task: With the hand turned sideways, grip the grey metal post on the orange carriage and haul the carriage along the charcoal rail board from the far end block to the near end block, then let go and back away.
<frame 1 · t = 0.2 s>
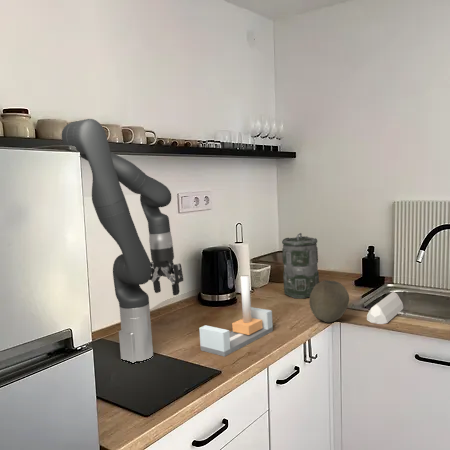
hand: (166, 293, 155), 18 cm above the worktop, tool pointing down, fingers open, 8 cm apart
crystal: (385, 316, 174), on the worktop
carriage: (246, 303, 160), point 12 cm above the worktop, slide at 5.5 cm
cantaloupe: (329, 321, 172), on the worktop
canister: (301, 294, 211), on the worktop
rail track: (238, 340, 157), on the worktop
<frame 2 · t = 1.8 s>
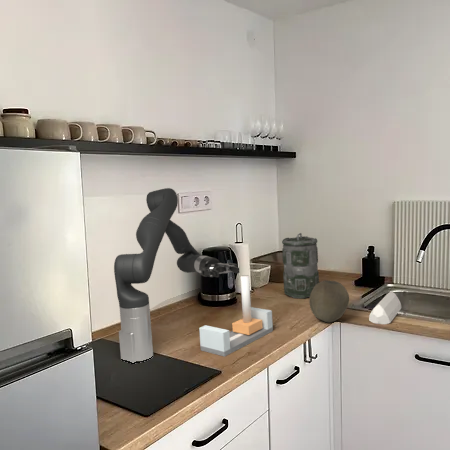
hand: (228, 272, 169), 21 cm above the worktop, tool horizontal, fingers open, 8 cm apart
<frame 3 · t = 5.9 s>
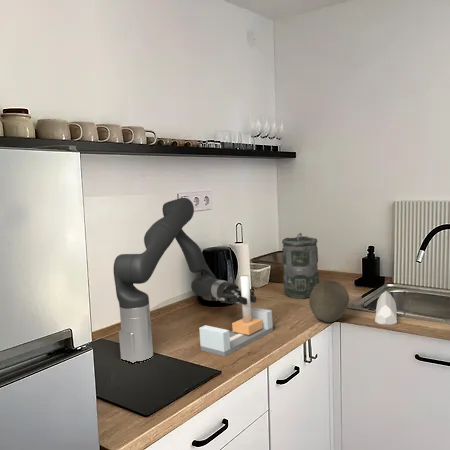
hand: (250, 300, 157), 13 cm above the worktop, tool horizontal, fingers closed on carriage, 3 cm apart
carriage: (246, 303, 160), point 12 cm above the worktop, slide at 5.5 cm, touching gripper
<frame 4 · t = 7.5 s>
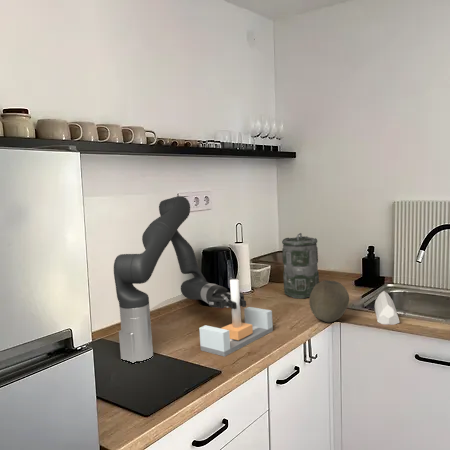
hand: (240, 304, 153), 13 cm above the worktop, tool horizontal, fingers closed on carriage, 3 cm apart
carriage: (235, 307, 155), point 12 cm above the worktop, slide at -0.4 cm, touching gripper
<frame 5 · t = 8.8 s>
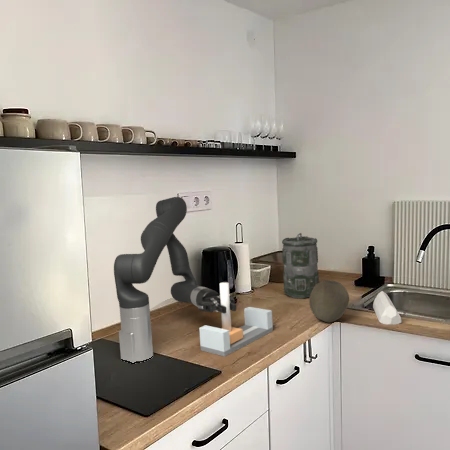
hand: (230, 309, 149), 13 cm above the worktop, tool horizontal, fingers closed on carriage, 3 cm apart
carriage: (225, 311, 151), point 12 cm above the worktop, slide at -5.7 cm, touching gripper
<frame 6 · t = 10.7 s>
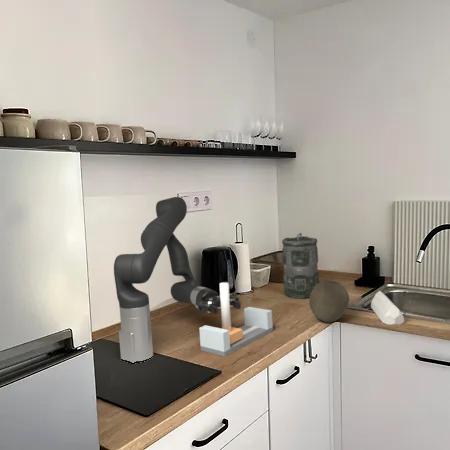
hand: (228, 308, 150), 13 cm above the worktop, tool horizontal, fingers open, 8 cm apart
carriage: (225, 311, 151), point 12 cm above the worktop, slide at -5.8 cm
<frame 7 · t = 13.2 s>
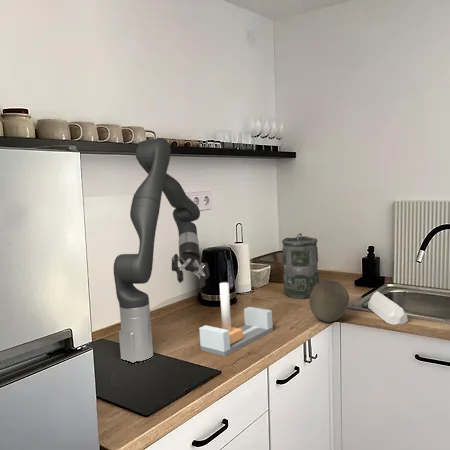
hand: (191, 284, 161), 19 cm above the worktop, tool tilted 45°, fingers open, 8 cm apart
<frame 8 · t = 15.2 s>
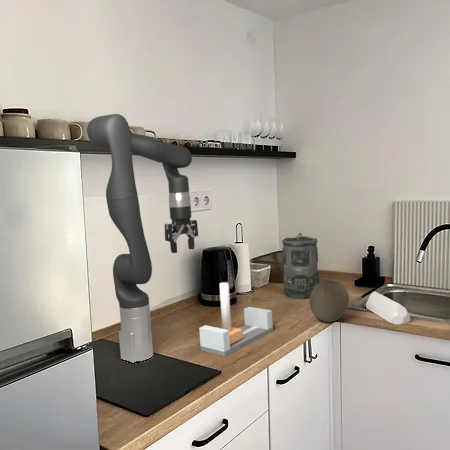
hand: (183, 251, 164), 30 cm above the worktop, tool pointing down, fingers open, 8 cm apart
at the end: carriage slide at -5.8 cm; the gripper is holding nothing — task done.
